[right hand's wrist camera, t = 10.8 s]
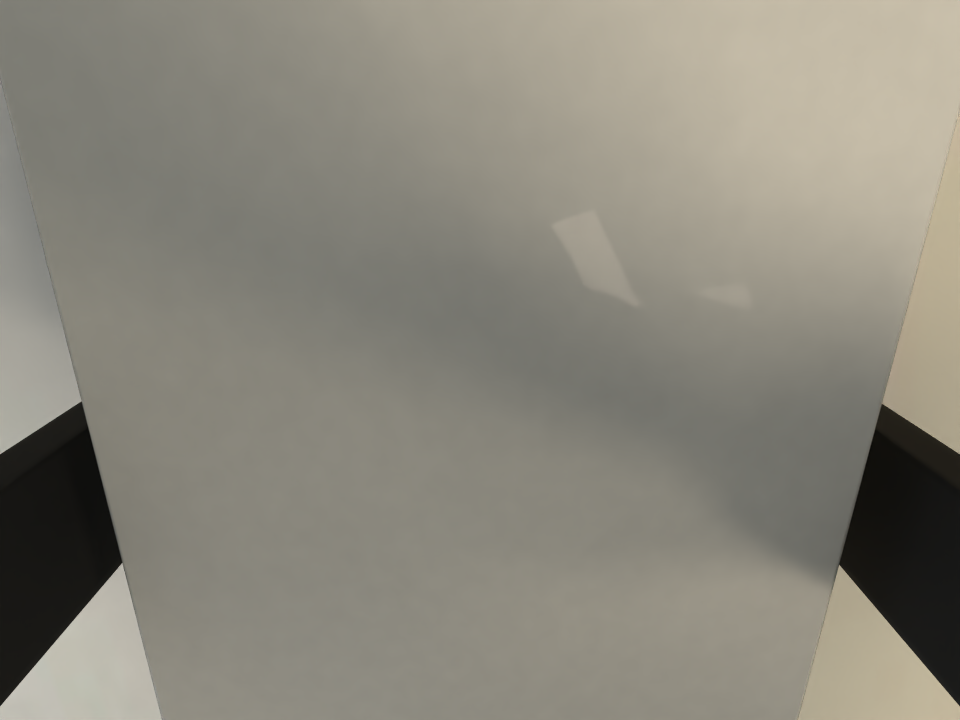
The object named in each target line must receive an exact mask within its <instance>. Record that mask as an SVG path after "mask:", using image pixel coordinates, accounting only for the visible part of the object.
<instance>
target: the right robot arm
mask: <svg viewBox="0 0 960 720" xmlns="http://www.w3.org/2000/svg"><path fill="white" fill-rule="evenodd" d="M121 564H122V559H121V555H120V551H119V547H118V543H117V539H116V535H115V531H114V527H113V523H112V519H111V515H110V511H109V507H108V503H107V499H106V495H105V491H104V487H103V483H102V479H101V475H100V471H99V467H98V463H97V459H96V456H95V452H94V448H93V444H92V440H91V436H90V432H89V428H88V424H87V420H86V416H85V412H84V408H83V404H82V402H80V403H79V404H77V405H76V406H74V407H72V408H71V409H69V410H68V411H66V412H65V413H63V414H62V415H60V416H59V417H57V418H56V419H54V420H52V421H51V422H49V423H48V424H46V425H45V426H43V427H42V428H40V429H39V430H37V431H36V432H34V433H32V434H31V435H29V436H28V437H26V438H25V439H23V440H22V441H20V442H19V443H17V444H16V445H14V446H12V447H11V448H9V449H8V450H6V451H5V452H3V453H2V454H0V706H1V705H2V703H3V702H4V701H5V700H6V699H7V698H8V696H9V695H10V694H11V693H12V692H13V691H14V689H15V688H16V687H17V686H18V685H19V683H20V682H21V681H22V680H23V679H24V678H25V676H26V675H27V674H28V673H29V672H30V671H31V669H32V668H33V667H34V666H35V665H36V663H37V662H38V661H39V660H40V659H41V658H42V656H43V655H44V654H45V653H46V652H47V651H48V649H49V648H50V647H51V646H52V645H53V644H54V642H55V641H56V640H57V639H58V638H59V636H60V635H61V634H62V633H63V632H64V631H65V629H66V628H67V627H68V626H69V625H70V624H71V622H72V621H73V620H74V619H75V618H76V617H77V615H78V614H79V613H80V612H81V611H82V609H83V608H84V607H85V606H86V605H87V604H88V602H89V601H90V600H91V599H92V598H93V597H94V595H95V594H96V593H97V592H98V591H99V589H100V588H101V587H102V586H103V585H104V584H105V582H106V581H107V580H108V579H109V578H110V577H111V575H112V574H113V573H114V572H115V571H116V570H117V568H118V567H119V566H120V565H121ZM839 565H840V566H841V567H842V568H843V570H844V571H845V572H846V573H847V574H848V575H849V577H850V578H851V579H852V580H853V581H854V582H855V584H856V585H857V586H858V587H859V588H860V590H861V591H862V592H863V593H864V594H865V595H866V597H867V598H868V599H869V600H870V601H871V602H872V604H873V605H874V606H875V607H876V608H877V609H878V611H879V612H880V613H881V614H882V615H883V617H884V618H885V619H886V620H887V621H888V622H889V624H890V625H891V626H892V627H893V628H894V629H895V631H896V632H897V633H898V634H899V635H900V636H901V638H902V639H903V640H904V641H905V642H906V644H907V645H908V646H909V647H910V648H911V649H912V651H913V652H914V653H915V654H916V655H917V656H918V658H919V659H920V660H921V661H922V662H923V664H924V665H925V666H926V667H927V668H928V669H929V671H930V672H931V673H932V674H933V675H934V676H935V678H936V679H937V680H938V681H939V682H940V683H941V685H942V686H943V687H944V688H945V689H946V691H947V692H948V693H949V694H950V695H951V696H952V698H953V699H954V700H955V701H956V702H957V703H958V705H959V706H960V454H958V453H957V452H955V451H954V450H952V449H951V448H949V447H948V446H946V445H944V444H943V443H941V442H940V441H938V440H937V439H935V438H934V437H932V436H931V435H929V434H928V433H926V432H924V431H923V430H921V429H920V428H918V427H917V426H915V425H914V424H912V423H911V422H909V421H908V420H906V419H904V418H903V417H901V416H900V415H898V414H897V413H895V412H894V411H892V410H891V409H889V408H888V407H886V406H884V405H883V404H882V405H881V408H880V412H879V416H878V420H877V423H876V427H875V431H874V435H873V438H872V442H871V446H870V450H869V454H868V457H867V461H866V465H865V469H864V472H863V476H862V480H861V484H860V487H859V491H858V495H857V499H856V502H855V506H854V510H853V514H852V517H851V521H850V525H849V529H848V533H847V536H846V540H845V544H844V548H843V551H842V555H841V559H840V563H839Z"/></svg>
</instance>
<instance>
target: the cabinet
mask: <svg viewBox="0 0 960 720" xmlns="http://www.w3.org/2000/svg"><path fill="white" fill-rule="evenodd" d="M0 79H1V83H2V87H3V91H4V95H5V99H6V103H7V107H8V111H9V115H10V119H11V122H12V126H13V130H14V134H15V138H16V142H17V146H18V150H19V154H20V158H21V162H22V166H23V170H24V174H25V178H26V182H27V186H28V190H29V194H30V198H31V202H32V206H33V210H34V214H35V218H36V222H37V226H38V230H39V234H40V237H41V241H42V245H43V249H44V253H45V257H46V261H47V265H48V269H49V273H50V277H51V281H52V285H53V289H54V293H55V297H56V301H57V305H58V309H59V313H60V317H61V321H62V325H63V329H64V333H65V337H66V341H67V345H68V348H69V352H70V356H71V360H72V364H73V368H74V372H75V376H76V380H77V384H78V388H79V392H80V396H81V400H82V404H83V408H84V412H85V416H86V420H87V424H88V428H89V432H90V436H91V440H92V444H93V448H94V452H95V456H96V459H97V463H98V467H99V471H100V475H101V479H102V483H103V487H104V491H105V495H106V499H107V503H108V507H109V511H110V515H111V519H112V523H113V527H114V531H115V535H116V539H117V543H118V547H119V551H120V555H121V559H122V563H123V567H124V571H125V574H126V578H127V582H128V586H129V590H130V594H131V598H132V602H133V606H134V610H135V614H136V618H137V622H138V626H139V630H140V634H141V638H142V642H143V646H144V650H145V654H146V658H147V662H148V666H149V670H150V674H151V678H152V682H153V685H154V689H155V693H156V697H157V701H158V705H159V709H160V713H161V717H162V720H798V717H799V713H800V709H801V706H802V702H803V698H804V694H805V691H806V687H807V683H808V679H809V676H810V672H811V668H812V664H813V661H814V657H815V653H816V649H817V645H818V642H819V638H820V634H821V630H822V627H823V623H824V619H825V615H826V612H827V608H828V604H829V600H830V597H831V593H832V589H833V585H834V581H835V578H836V574H837V570H838V566H839V563H840V559H841V555H842V551H843V548H844V544H845V540H846V536H847V533H848V529H849V525H850V521H851V517H852V514H853V510H854V506H855V502H856V499H857V495H858V491H859V487H860V484H861V480H862V476H863V472H864V469H865V465H866V461H867V457H868V454H869V450H870V446H871V442H872V438H873V435H874V431H875V427H876V423H877V420H878V416H879V412H880V408H881V405H882V401H883V397H884V393H885V390H886V386H887V382H888V378H889V374H890V371H891V367H892V363H893V359H894V356H895V352H896V348H897V344H898V341H899V337H900V333H901V329H902V326H903V322H904V318H905V314H906V311H907V307H908V303H909V299H910V295H911V292H912V288H913V284H914V280H915V277H916V273H917V269H918V265H919V262H920V258H921V254H922V250H923V247H924V243H925V239H926V235H927V231H928V228H929V224H930V220H931V216H932V213H933V209H934V205H935V201H936V198H937V194H938V190H939V186H940V183H941V179H942V175H943V171H944V167H945V164H946V160H947V156H948V152H949V149H950V145H951V141H952V137H953V134H954V130H955V126H956V122H957V119H958V115H959V111H960V0H0Z"/></svg>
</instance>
